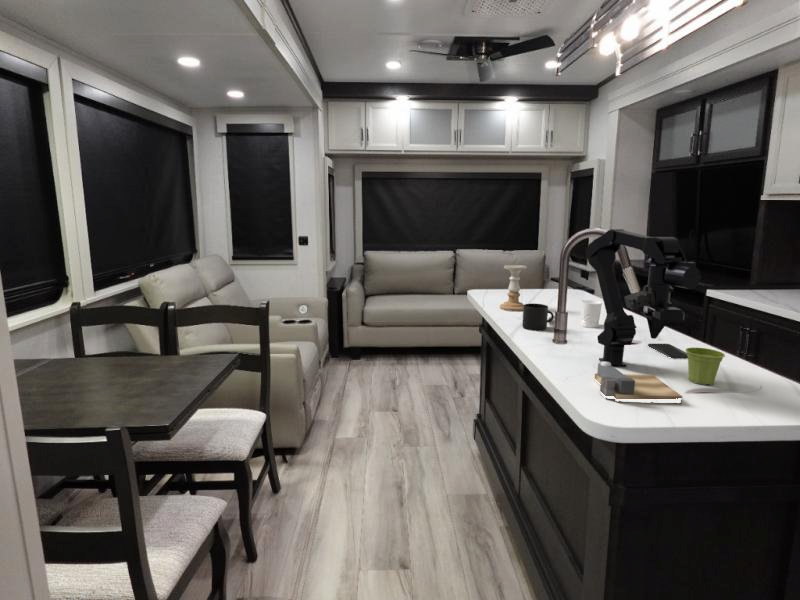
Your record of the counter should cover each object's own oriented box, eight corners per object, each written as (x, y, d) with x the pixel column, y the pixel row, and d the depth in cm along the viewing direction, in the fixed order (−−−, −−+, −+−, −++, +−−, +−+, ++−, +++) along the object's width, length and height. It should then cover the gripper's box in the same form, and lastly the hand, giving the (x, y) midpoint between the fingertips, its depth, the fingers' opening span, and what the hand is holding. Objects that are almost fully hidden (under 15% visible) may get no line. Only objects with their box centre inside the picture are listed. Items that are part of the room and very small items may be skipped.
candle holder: (495, 306, 240) (497, 264, 237) (517, 305, 244) (520, 264, 240) (507, 312, 229) (510, 268, 225) (531, 310, 233) (534, 267, 229)
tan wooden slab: (587, 380, 141) (588, 363, 140) (652, 381, 141) (654, 364, 140) (608, 402, 125) (610, 383, 125) (681, 404, 125) (683, 384, 124)
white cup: (596, 324, 208) (598, 300, 206) (602, 328, 200) (604, 304, 198) (577, 323, 208) (578, 299, 207) (581, 328, 201) (583, 303, 199)
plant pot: (685, 373, 148) (689, 345, 146) (723, 381, 142) (727, 351, 140) (678, 382, 140) (682, 352, 139) (718, 390, 135) (722, 359, 133)
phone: (668, 343, 177) (693, 356, 162) (668, 346, 177) (693, 359, 162) (646, 343, 177) (669, 356, 162) (646, 346, 177) (669, 359, 162)
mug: (556, 331, 195) (557, 308, 194) (524, 330, 196) (526, 307, 194) (549, 325, 204) (551, 303, 203) (520, 324, 205) (521, 303, 203)
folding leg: (596, 373, 140) (597, 361, 139) (608, 373, 140) (609, 361, 139) (620, 393, 125) (621, 379, 125) (633, 393, 125) (635, 380, 125)
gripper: (616, 277, 147) (611, 329, 150) (644, 288, 128) (638, 347, 131) (655, 278, 146) (649, 330, 149) (688, 289, 128) (681, 348, 131)
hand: (653, 338), depth 140 cm, fingers closed
